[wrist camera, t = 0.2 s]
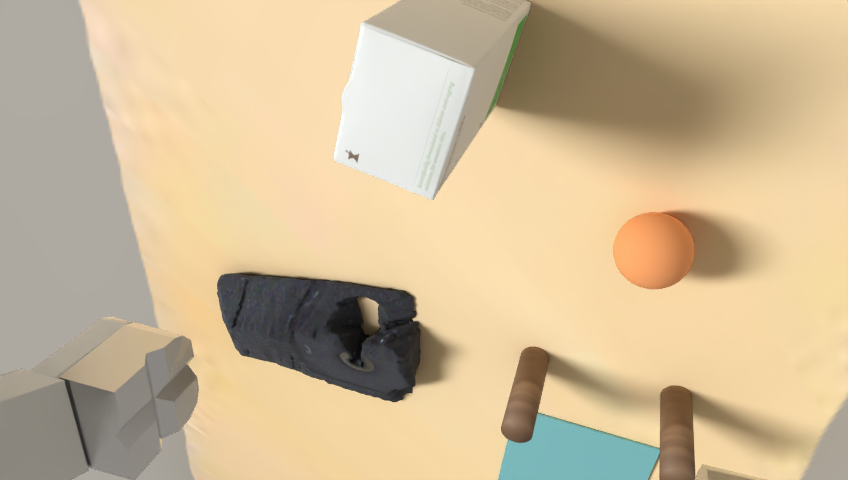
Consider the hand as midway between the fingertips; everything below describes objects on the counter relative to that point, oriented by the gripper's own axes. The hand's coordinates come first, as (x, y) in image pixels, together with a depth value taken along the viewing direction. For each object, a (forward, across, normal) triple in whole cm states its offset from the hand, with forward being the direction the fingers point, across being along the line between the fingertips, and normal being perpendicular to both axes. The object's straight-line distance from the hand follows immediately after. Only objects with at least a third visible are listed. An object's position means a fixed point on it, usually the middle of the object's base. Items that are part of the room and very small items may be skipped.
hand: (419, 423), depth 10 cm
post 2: (+42, -12, +31) cm, 53 cm away
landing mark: (+43, -5, +44) cm, 62 cm away
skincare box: (+39, +8, +1) cm, 40 cm away
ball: (+37, -7, +15) cm, 41 cm away
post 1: (+42, +1, +30) cm, 51 cm away
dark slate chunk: (+43, +22, +32) cm, 58 cm away
